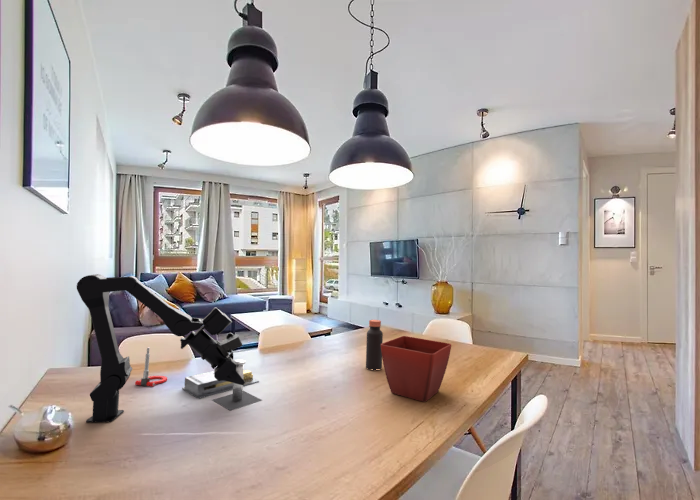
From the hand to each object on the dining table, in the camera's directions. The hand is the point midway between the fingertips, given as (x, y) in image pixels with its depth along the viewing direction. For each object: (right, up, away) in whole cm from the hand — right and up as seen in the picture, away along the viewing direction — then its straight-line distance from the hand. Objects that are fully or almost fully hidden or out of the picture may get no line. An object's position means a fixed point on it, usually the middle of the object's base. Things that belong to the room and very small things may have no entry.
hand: (242, 379), depth 109 cm
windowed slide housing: (-11, -7, +11) cm, 17 cm away
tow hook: (-36, -6, +14) cm, 39 cm away
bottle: (+44, -9, +37) cm, 58 cm away
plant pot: (+57, -9, +11) cm, 58 cm away
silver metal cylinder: (-1, -6, -1) cm, 6 cm away
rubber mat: (-1, -7, -1) cm, 7 cm away
